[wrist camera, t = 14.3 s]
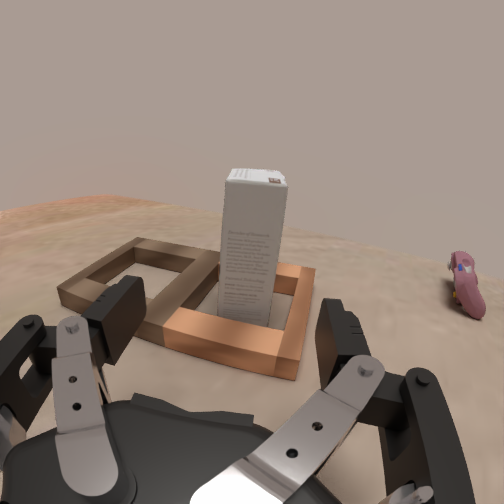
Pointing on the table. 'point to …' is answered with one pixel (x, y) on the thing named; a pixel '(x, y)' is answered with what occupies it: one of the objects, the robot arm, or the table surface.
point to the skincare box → (250, 244)
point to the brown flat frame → (189, 297)
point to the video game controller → (466, 284)
